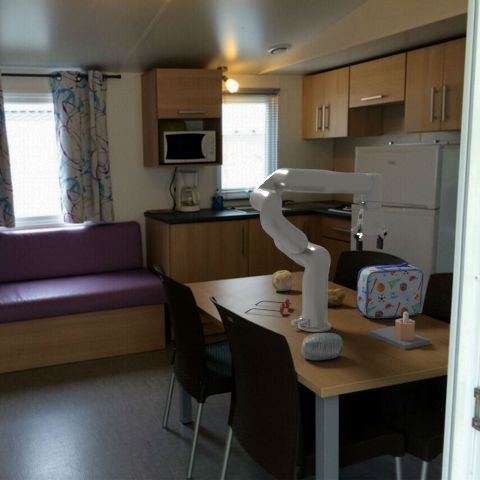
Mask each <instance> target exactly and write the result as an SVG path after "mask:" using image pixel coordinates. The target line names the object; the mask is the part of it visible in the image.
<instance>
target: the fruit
mask: <svg viewBox="0 0 480 480" xmlns="http://www.w3.org/2000/svg"><path fill="white" fill-rule="evenodd" d="M271 284H272V285H271V286H272V287H273V289H275V290H276V291H277V292H286V291H289V290H291V289H292V288H293V287H294V285H295V277H294V275H293V273H291V272H290V271H289V270H285V269H284V270H277V271H276V272H273V274H272V276H271Z"/></svg>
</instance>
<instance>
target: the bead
mask: <svg viewBox="0 0 480 480" xmlns="http://www.w3.org/2000/svg"><path fill="white" fill-rule="evenodd" d="M394 323H395V324H394V326H395V338H396V339H398V340H403V341H410V340H414V334H415V326H416V322H415V320H413V319H410V318H408V323H403V317H400V318H397V319H396V318H395V322H394Z"/></svg>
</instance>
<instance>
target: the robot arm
mask: <svg viewBox="0 0 480 480" xmlns="http://www.w3.org/2000/svg"><path fill="white" fill-rule="evenodd" d="M284 192H289V193H309V194H312V193H313V194H314V193H315V194H349V195H350V194H353V195H361V197H360V198H361V201H360V202H359V204H358V206H359V207H360V209H359V212H358V216H357V224H356V226H354V227H352V228H351V229H350V232H351V235H352V237H353V238H354V240H355V251H358V252H363V247H364V245H363V244H364V241H363V238H364V237H372V236H373V237H375V236H376V249H378V250H381V251H382V250H383V249H384V240H386V239H385V238H386V236H387V235H388V232H389V231H390V227H389V226H387V225H386V224H385V214H384V210H383V209H382V196H383V195H382V193H383V176H382V174H381V173H377V172H376V173H375V172H366V173H363V172H341V171H334V170H333V171H332V170H327V169H315V168H314V169H312V168H311V169H309V168H308V169H307V168H293V167H292V168H291V167H290V168H289V167H282V168H278V169H276V170H274V172H273V173H271V174H270V175H269V176H268V177H266V179H264V180H263V181H262V182H261V183H260V184H259V185H257V186H256V187H255V188H254V189H253V190H252V192H251V193H250V196H249V203H250V206H251V207H252V209H254V210H256V211H259V218H260V219H259V220H260V225H261V227H262V230H264V232H265V233H266V234H267V235H268V236H270V237H271V238H272V239H273V242H274V244H275V246H276V248H277V249H278V250H279V251H281V252H282V254H284V255H286V256H287V257H288V258H289V259H291V260H292V261H293V262H294V263H295V264H298V265H299V266H301V267H304V273H303V276H302V280H301V281H302V286H301V288H302V290H301V291H302V293H301V294H302V297H301V298H302V299H301V302H302V304H301V305H302V306H301V315H299V317H298V318H297V319H291V321H290V324H291V326H296V325H297V327H298V329H299V330H302V331H305V332H311V333H324V332H327V331H329V330H331V329H332V324H331V322H329V321H328V307H329V306H328V290H329V288H328V287H329V273H330V266H331V262H332V261H331V254H330V252H329V251H328V250H327V249H326V248H325V247H323V246H321V245H318V244H315V243H311V242H310V241H309V240H308V237H307V235H306V233H304V232H303V230H301V229H299V228H298V227H296V226H295V225H294V224H292V222H290V221H289V220H288V219H287V218H286V217H285V216H284V215H283V211H282V209H283V208H282V207H283V201H282V196H281V195H282V194H283V193H284Z"/></svg>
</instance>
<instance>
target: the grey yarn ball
mask: <svg viewBox="0 0 480 480" xmlns="http://www.w3.org/2000/svg"><path fill="white" fill-rule="evenodd" d="M343 347H344V341H343V338H342V336H340V334H337V333H333V332H315V333H313V334H309V335H307V336H306V337H305V338H304V339H303V341H302V343H301V354H302V356H303V357H304V358H305V359H306V360H308V361H324V360H325V361H326V360H331V359H336V358H338V357H339V356H340V355H341V354H342V353H343V352H342V351H343Z"/></svg>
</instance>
